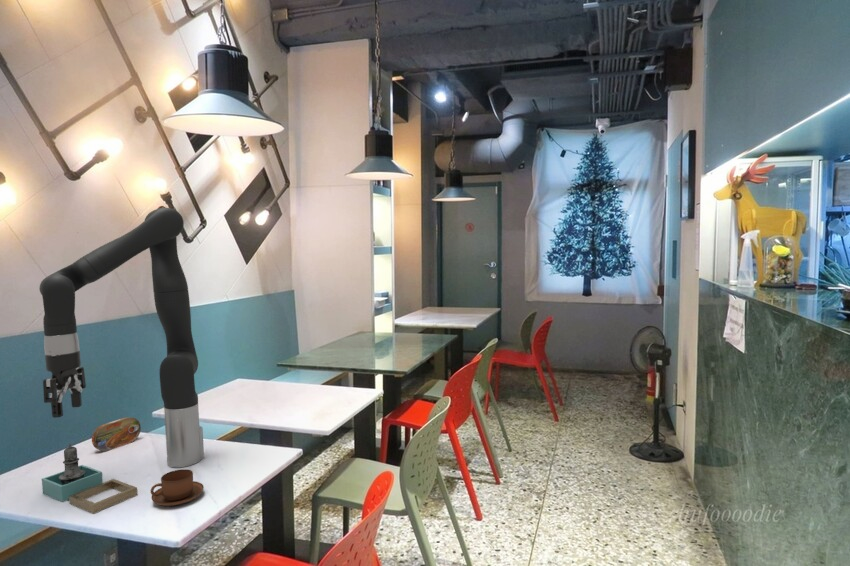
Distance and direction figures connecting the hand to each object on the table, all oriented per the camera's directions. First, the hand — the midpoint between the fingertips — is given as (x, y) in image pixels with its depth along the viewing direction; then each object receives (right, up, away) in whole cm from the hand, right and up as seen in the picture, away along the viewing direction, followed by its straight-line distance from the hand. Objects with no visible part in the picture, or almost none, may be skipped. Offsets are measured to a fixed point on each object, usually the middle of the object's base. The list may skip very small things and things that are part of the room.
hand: (67, 411), depth 139 cm
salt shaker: (0, -21, +2) cm, 21 cm away
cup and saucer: (+31, -21, -5) cm, 38 cm away
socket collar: (+12, -21, -4) cm, 25 cm away
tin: (-6, -20, +33) cm, 39 cm away
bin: (0, -21, +2) cm, 21 cm away
